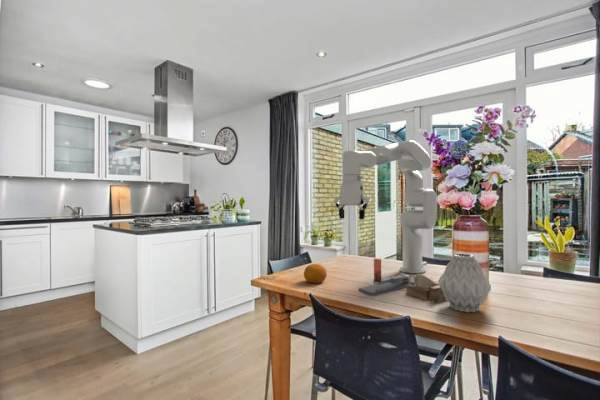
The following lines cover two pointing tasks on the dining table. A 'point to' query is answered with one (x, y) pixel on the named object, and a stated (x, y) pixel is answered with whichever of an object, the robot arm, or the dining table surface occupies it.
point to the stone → (423, 281)
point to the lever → (392, 280)
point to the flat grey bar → (385, 287)
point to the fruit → (315, 273)
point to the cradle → (426, 292)
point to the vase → (464, 283)
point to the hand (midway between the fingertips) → (351, 218)
